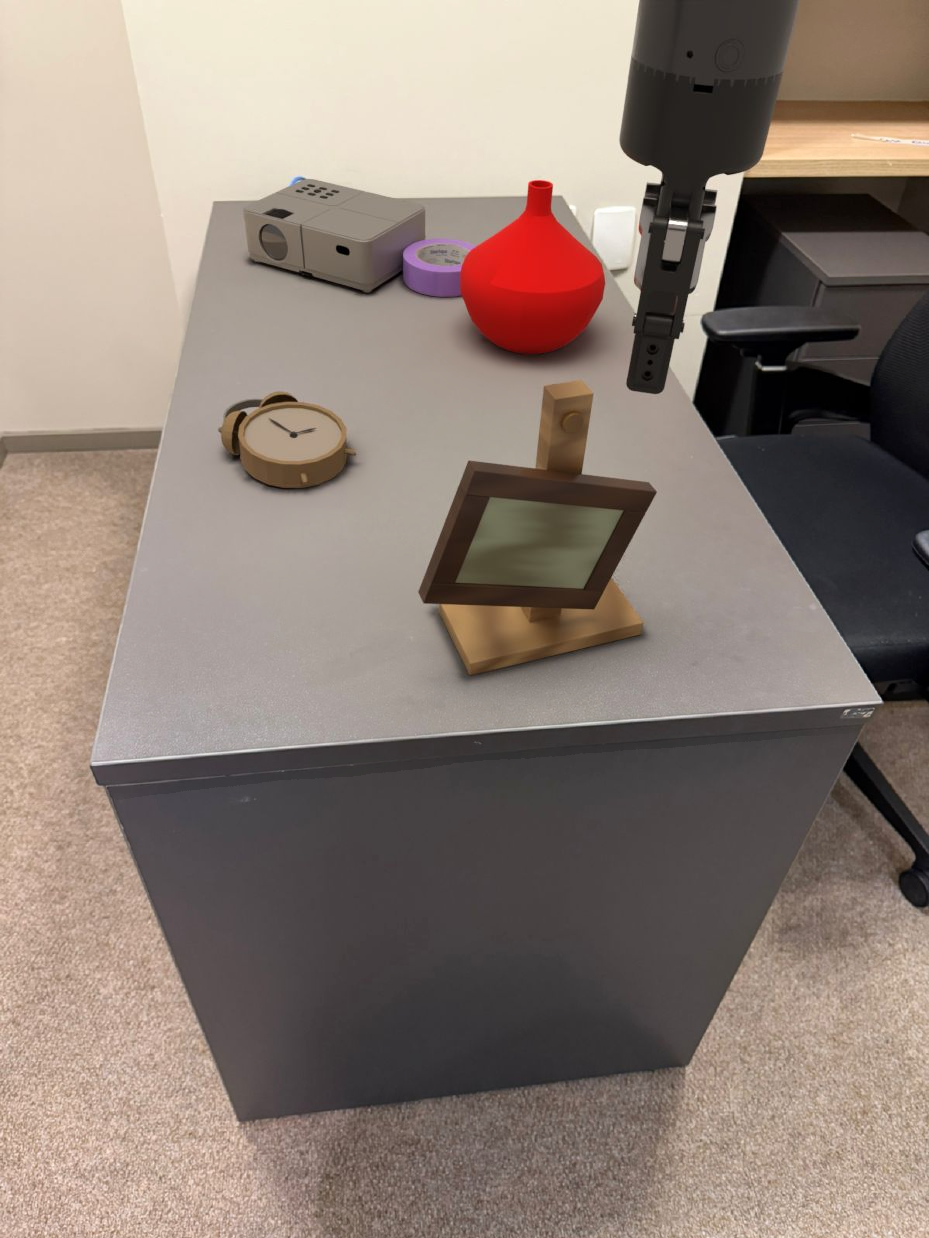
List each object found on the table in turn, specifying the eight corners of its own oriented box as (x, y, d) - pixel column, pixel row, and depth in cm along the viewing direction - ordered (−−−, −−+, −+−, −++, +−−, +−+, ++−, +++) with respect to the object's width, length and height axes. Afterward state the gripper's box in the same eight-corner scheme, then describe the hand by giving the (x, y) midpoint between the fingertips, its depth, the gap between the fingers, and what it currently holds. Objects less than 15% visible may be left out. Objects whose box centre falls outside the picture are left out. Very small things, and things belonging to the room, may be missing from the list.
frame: (423, 603, 69) (474, 470, 62) (417, 592, 69) (468, 459, 63) (594, 609, 76) (657, 492, 69) (587, 599, 77) (648, 481, 70)
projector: (311, 227, 144) (306, 175, 138) (429, 257, 137) (429, 204, 131) (244, 262, 133) (237, 208, 128) (368, 297, 126) (366, 241, 120)
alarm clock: (292, 480, 88) (191, 404, 93) (290, 516, 92) (194, 441, 97) (371, 435, 95) (273, 365, 100) (367, 470, 99) (273, 401, 103)
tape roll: (491, 295, 128) (492, 268, 125) (410, 299, 126) (410, 272, 123) (473, 262, 136) (474, 236, 133) (397, 266, 134) (397, 240, 131)
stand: (469, 676, 74) (482, 436, 58) (438, 613, 80) (443, 378, 64) (640, 634, 78) (696, 401, 63) (601, 577, 84) (642, 348, 68)
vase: (563, 300, 127) (579, 155, 114) (620, 360, 115) (646, 205, 102) (440, 315, 123) (442, 165, 109) (486, 379, 110) (494, 218, 97)
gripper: (643, 19, 50) (601, 301, 61) (619, 80, 40) (574, 405, 51) (780, 32, 49) (712, 316, 60) (792, 97, 39) (707, 424, 50)
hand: (649, 356), depth 56 cm, fingers open, 8 cm apart
